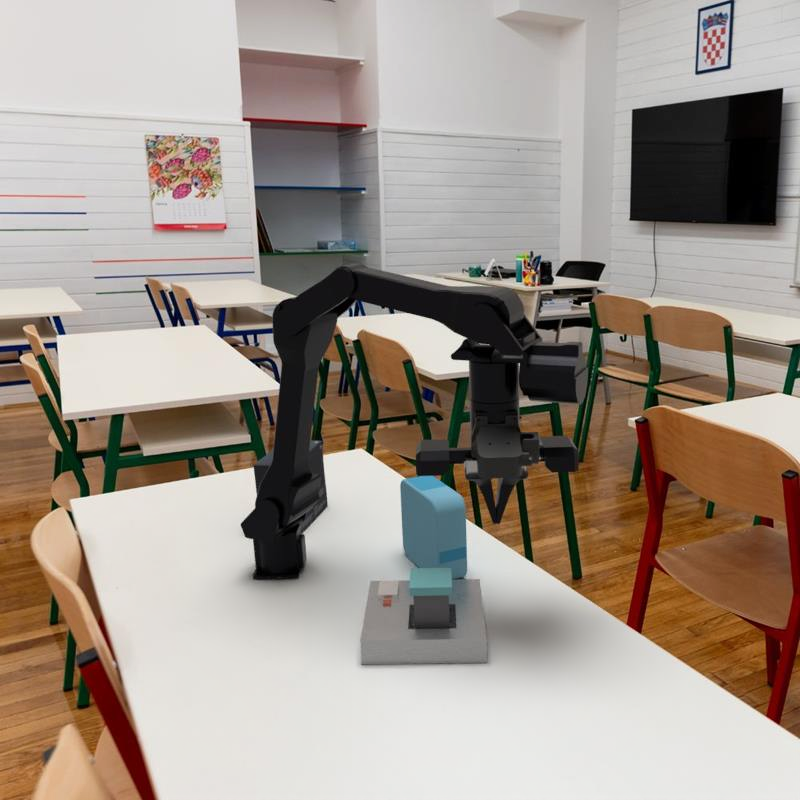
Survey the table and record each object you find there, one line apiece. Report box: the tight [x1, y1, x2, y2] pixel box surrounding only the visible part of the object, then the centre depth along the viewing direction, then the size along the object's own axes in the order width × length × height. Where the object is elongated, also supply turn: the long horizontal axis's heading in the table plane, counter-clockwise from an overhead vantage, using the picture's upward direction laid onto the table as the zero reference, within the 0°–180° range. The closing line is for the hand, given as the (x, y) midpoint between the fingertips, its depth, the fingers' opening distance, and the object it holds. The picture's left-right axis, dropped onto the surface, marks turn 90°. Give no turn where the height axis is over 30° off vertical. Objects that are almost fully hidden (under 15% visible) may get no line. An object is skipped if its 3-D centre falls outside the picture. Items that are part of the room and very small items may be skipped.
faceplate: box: [359, 578, 488, 665], centre depth 93 cm, size 14×14×4 cm
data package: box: [399, 475, 468, 580], centre depth 108 cm, size 12×4×12 cm, turn 23°
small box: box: [252, 440, 329, 534], centre depth 127 cm, size 13×7×12 cm, turn 164°
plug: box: [409, 567, 452, 629], centre depth 90 cm, size 5×5×8 cm
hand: (496, 522), depth 94 cm, fingers closed
